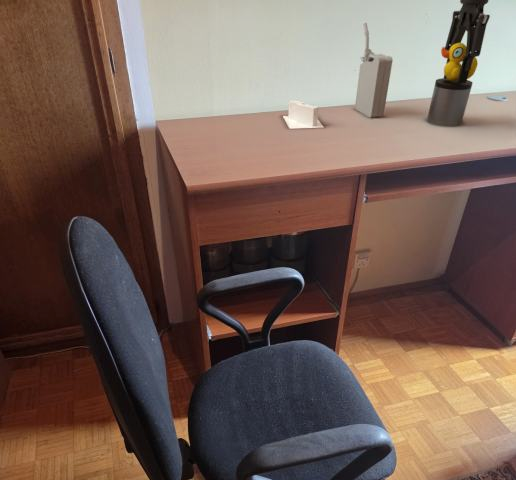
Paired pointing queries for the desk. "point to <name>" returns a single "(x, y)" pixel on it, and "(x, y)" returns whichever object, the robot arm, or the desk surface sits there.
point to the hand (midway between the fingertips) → (454, 80)
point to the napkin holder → (302, 116)
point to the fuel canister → (373, 82)
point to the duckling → (456, 61)
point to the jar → (448, 102)
